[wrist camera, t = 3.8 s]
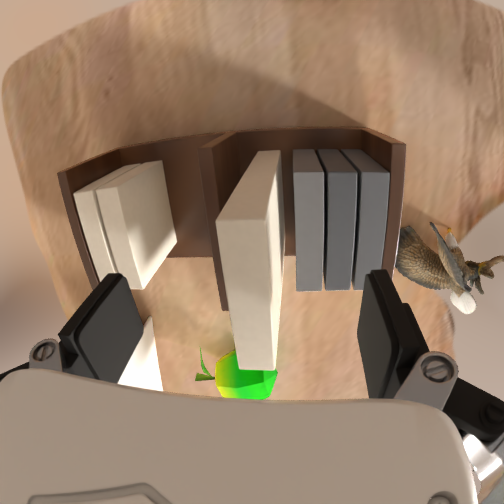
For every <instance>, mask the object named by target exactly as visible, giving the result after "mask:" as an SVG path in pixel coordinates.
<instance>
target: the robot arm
mask: <svg viewBox="0 0 504 504" xmlns="http://www.w3.org/2000/svg"><path fill="white" fill-rule="evenodd" d="M143 333H144V327H143V324H142V321H141V318H140V316H139V313H138V310H137V307H136V304H135V302H134V299H133V296H132V293H131V290H130V287H129V284H128V281H127V278H126V277H124V276H123V275H122V274H121V273H108V274H107V275H106V276H105V277H104V278H103V280H102V281H101V282H100V283H99V284H98V285H97V287H96V288H95V289H94V290H93V291H92V292H91V294H90V295H89V296H88V297H87V298H86V300H85V301H84V302H83V303H82V305H81V306H80V307H79V308H78V309H77V311H76V312H75V313H74V314H73V316H72V317H71V318H70V319H69V321H68V322H67V323H66V325H65V326H64V327H63V329H62V330H61V331H60V333H59V334H58V336H59V337H60V339H61V341H60V342H59V343H58V342H57V341H56V340H55V339H45V340H42V341H40V342H39V343H37V344H36V345H35V346H34V347H33V348H32V350H31V352H30V355H29V362H27V363H25V364H22V365H20V366H18V367H16V368H13V369H11V370H9V371H7V372H5V373H2V374H0V504H504V402H503V401H502V400H500V399H498V398H497V397H495V396H492V395H491V394H489V393H487V392H485V391H483V390H481V389H479V388H477V387H475V386H473V385H472V384H470V383H468V382H466V381H464V380H462V379H460V378H458V372H459V371H458V366H457V364H456V362H455V361H454V360H453V359H452V358H451V357H450V356H449V355H447V354H445V353H442V352H438V351H431V352H430V351H429V349H428V346H427V344H426V342H425V339H424V337H423V334H422V332H421V330H420V328H419V325H418V323H417V321H416V319H415V316H414V314H413V312H412V310H411V308H410V306H409V304H408V303H402V302H401V299H400V297H399V295H398V293H397V291H396V288H395V286H394V284H393V282H392V280H391V278H390V276H389V274H388V272H387V270H386V269H377V270H371V272H370V274H366V275H365V281H364V289H363V296H362V303H361V310H360V316H359V323H358V329H357V338H358V343H359V347H360V352H361V357H362V362H363V367H364V372H365V378H366V383H367V389H368V395H369V399H337V400H258V399H237V398H222V397H210V396H199V395H190V394H181V393H173V392H165V391H158V390H151V389H145V388H139V387H133V386H127V385H121V384H118V382H119V380H120V378H121V376H122V374H123V372H124V370H125V368H126V366H127V364H128V362H129V360H130V358H131V356H132V355H133V353H134V351H135V349H136V347H137V345H138V343H139V341H140V339H141V338H142V336H143ZM470 463H471V464H472V466H473V467H474V468H475V469H474V470H473V471H474V472H475V473H476V475H477V476H478V477H479V479H480V481H481V490H480V493H479V495H478V496H477V493H476V488H475V483H474V479H473V474H472V470H471V465H470ZM430 498H431V499H430Z"/></svg>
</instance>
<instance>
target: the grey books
mask: <svg viewBox="0 0 504 504" xmlns="http://www.w3.org/2000/svg"><path fill="white" fill-rule="evenodd" d="M389 178H390V172H388V171H387V170H386V169H385V168H384V167H382V166H381V165H380V164H379V163H377V162H376V161H375V160H374V159H372V158H371V157H370V156H369V155H367V154H366V153H365V152H364V151H362V150H361V149H341V153H340V152H339V150H338V149H318V150H317V155H316V153H315V151H314V149H296V150H293V180H294V205H295V237H296V291H322V278H323V275H324V283H325V290H326V291H336V290H350V287H351V281H352V285H353V289H354V290H363V289H364V281H365V275H366V274H370V272H371V270H377V269H381V264H382V256H383V248H384V240H385V230H386V220H387V209H388V195H389Z"/></svg>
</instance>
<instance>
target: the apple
mask: <svg viewBox="0 0 504 504" xmlns="http://www.w3.org/2000/svg"><path fill="white" fill-rule="evenodd" d="M200 354H201V348H200ZM201 366H202V369H203V372H204V373H206V374H208V375H209V376H207V375H203V374H199V373H197V375H196V379H195V381H202V380H214V379H215V382H216V386H217V388H218V390H219V391H220V393H221V395H222V397H223V398H237V399H258V400H263V399H265V398H267V397H269V396H270V394H271V391H272V389H273V386H274V383H275V380H276V377H277V373H278V372H277V370H276V368H275V370H245V369H239V366H238V360H237V355H236V350H234V351H232V352H230V353H228V354H226V355H225V356H223V357H222V358H221V359H220V360H219V361H218V362H216V368H215V377H212V376H211V375H210V373H209V372H208V371H207V369H206V368H205V366H204V363H203V360H202V354H201Z"/></svg>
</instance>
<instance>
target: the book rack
mask: <svg viewBox="0 0 504 504" xmlns="http://www.w3.org/2000/svg"><path fill="white" fill-rule="evenodd" d="M296 149H314V151H315V153H316V155H317V150H318V149H338V150H339V152H340V153H341V149H361V150H362V151H364V152H365V153H366V154H367V155H369V156H370V157H371V158H372V159H374V160H375V161H376V162H377V163H379V164H380V165H381V166H382V167H384V168H385V169H386V170H387V171H388V172H390V178H389V195H388V209H387V220H386V230H385V240H384V248H383V256H382V264H381V269H386V270H387V272H388V274H389V276H390V278H391V280H392V279H393V274H394V268H395V261H396V255H397V248H398V241H399V233H400V224H401V215H402V205H403V194H404V180H405V162H406V144H405V143H403V142H400V141H398V140H396V139H394V138H391V137H389V136H387V135H384V134H382V133H380V132H377V131H375V130H372V129H370V128H358V127H295V128H271V129H254V130H241V131H229V132H219V133H209V134H201V135H192V136H185V137H177V138H171V139H164V140H158V141H151V142H146V143H140V144H134V145H129V146H124V147H119V148H116V149H113V150H110V151H108V152H105V153H102V154H100V155H97V156H95V157H93V158H90V159H88V160H85V161H83V162H81V163H78V164H76V165H74V166H71V167H69V168H67V169H65V170H63V171H60V172H58V173H57V175H58V179H59V184H60V188H61V192H62V196H63V200H64V203H65V207H66V211H67V215H68V218H69V222H70V225H71V228H72V232H73V235H74V238H75V241H76V244H77V247H78V250H79V253H80V256H81V259H82V262H83V265H84V268H85V271H86V273H87V276H88V279H89V282H90V284H91V287H92V289H93V290H94V289H95V288H96V287H97V285H98V284H99V283H100V280H99V277H98V274H97V271H96V269H95V266H94V263H93V260H92V257H91V254H90V251H89V247H88V244H87V241H86V238H85V235H84V231H83V228H82V224H81V221H80V217H79V214H78V210H77V206H76V202H75V198H74V193H75V192H76V191H78V190H80V189H82V188H84V187H85V186H87V185H89V184H91V183H93V182H94V181H96V180H98V179H100V178H102V177H104V176H106V175H108V174H110V173H111V172H113V171H115V170H117V169H119V168H121V167H123V166H127V165H133V164H139V163H140V164H143V163H146V162H153V161H160V160H162V162H163V169H164V175H165V181H166V186H167V192H168V198H169V203H170V209H171V214H172V219H173V224H174V229H175V234H176V239H177V243H176V244H175V245H174V247H173V248H172V250H171V251H170V252H169V254H168V255H167V257H166V258H172V257H213V261H214V267H215V273H216V279H217V285H218V291H219V296H220V302H221V308H222V311H229V307H228V301H227V295H226V288H225V282H224V276H223V269H222V263H221V256H220V249H219V242H218V235H217V229H216V219H217V217H218V216H219V214H220V212H221V211H222V209H223V207H224V206H225V204H226V203H227V201H228V199H229V198H230V196H231V194H232V193H233V191H234V189H235V188H236V186H237V184H238V183H239V181H240V180H241V178H242V176H243V175H244V173H245V172H246V170H247V168H248V167H249V165H250V164H251V162H252V160H253V159H254V157H255V156H256V154H257V153H258V151H271V150H280V151H281V165H282V182H283V201H284V222H285V251H284V256H296V237H295V205H294V180H293V150H296Z"/></svg>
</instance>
